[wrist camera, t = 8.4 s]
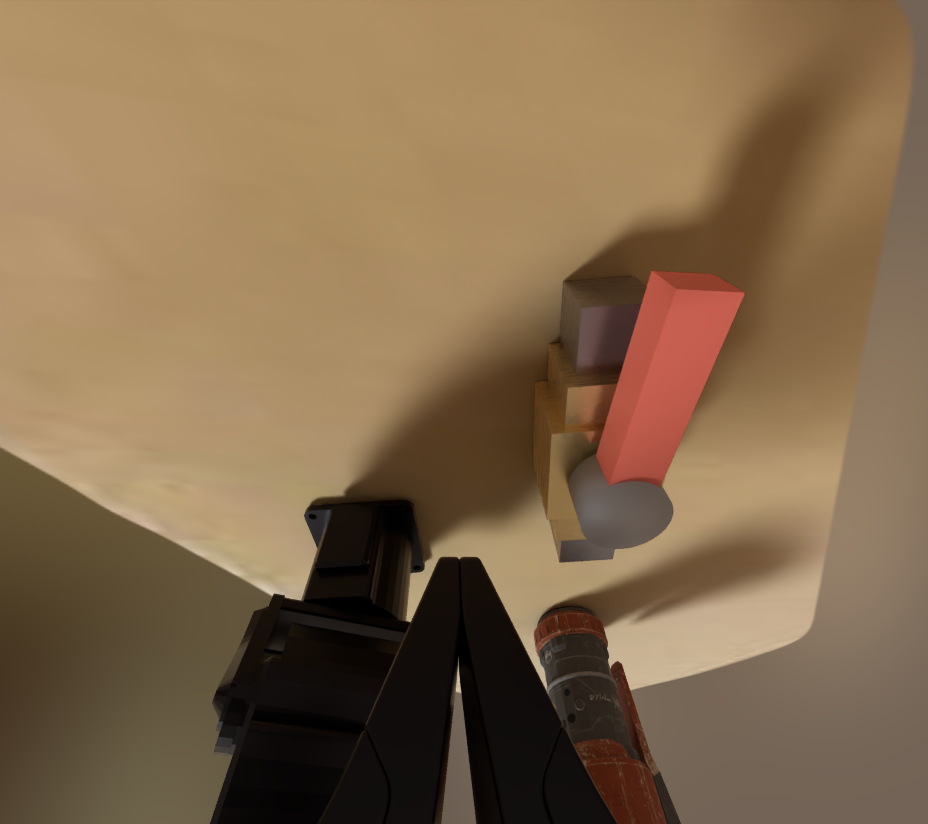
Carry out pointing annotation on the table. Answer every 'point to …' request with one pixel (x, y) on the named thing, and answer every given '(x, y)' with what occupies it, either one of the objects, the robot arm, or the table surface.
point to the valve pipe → (580, 397)
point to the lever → (652, 407)
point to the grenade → (601, 716)
